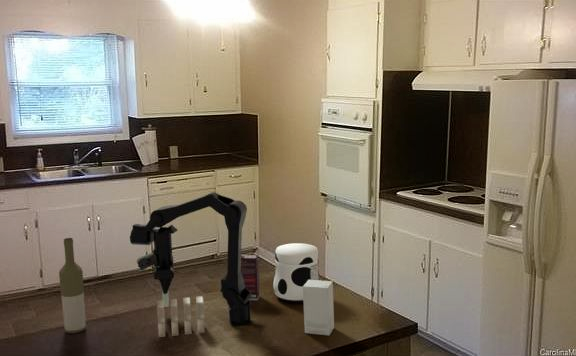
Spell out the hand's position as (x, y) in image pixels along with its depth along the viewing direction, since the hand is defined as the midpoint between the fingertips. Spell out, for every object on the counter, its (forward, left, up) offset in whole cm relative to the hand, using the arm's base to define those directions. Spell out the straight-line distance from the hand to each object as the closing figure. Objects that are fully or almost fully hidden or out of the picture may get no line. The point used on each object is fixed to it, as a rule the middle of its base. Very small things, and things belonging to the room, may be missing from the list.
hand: (165, 290), depth 186 cm
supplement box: (-29, -10, -9) cm, 32 cm away
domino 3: (-3, +13, -9) cm, 16 cm away
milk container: (-47, -7, -9) cm, 48 cm away
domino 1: (+1, +13, -9) cm, 16 cm away
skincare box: (-47, +23, -9) cm, 53 cm away
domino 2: (0, 0, -5) cm, 5 cm away
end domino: (-11, +13, -9) cm, 19 cm away
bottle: (+28, +4, -9) cm, 30 cm away
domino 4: (-7, +13, -9) cm, 17 cm away
